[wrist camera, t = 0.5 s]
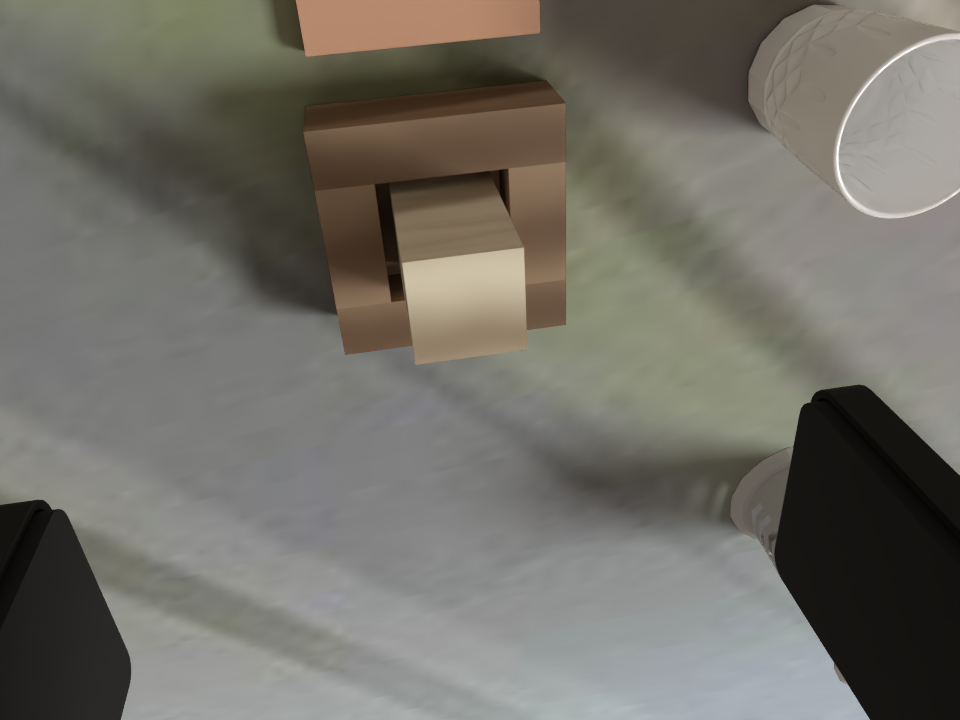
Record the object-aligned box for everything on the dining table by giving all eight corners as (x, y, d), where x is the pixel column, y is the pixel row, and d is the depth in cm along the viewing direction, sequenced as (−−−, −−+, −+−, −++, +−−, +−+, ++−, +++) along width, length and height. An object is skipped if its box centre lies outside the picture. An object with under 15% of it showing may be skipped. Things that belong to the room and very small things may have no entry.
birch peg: (387, 174, 40) (402, 262, 32) (484, 162, 41) (523, 247, 33) (399, 262, 43) (415, 364, 35) (490, 250, 44) (527, 349, 35)
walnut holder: (305, 105, 39) (303, 132, 36) (546, 80, 40) (565, 103, 37) (344, 316, 46) (345, 354, 42) (549, 289, 47) (565, 324, 43)
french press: (819, 420, 56) (1102, 763, 36) (885, 499, 62) (1160, 833, 41) (705, 499, 59) (907, 860, 38) (778, 568, 65) (987, 913, 44)
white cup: (791, 173, 45) (894, 250, 37) (705, 83, 41) (798, 147, 33) (906, 60, 42) (1045, 116, 34) (826, -46, 39) (959, -12, 31)
